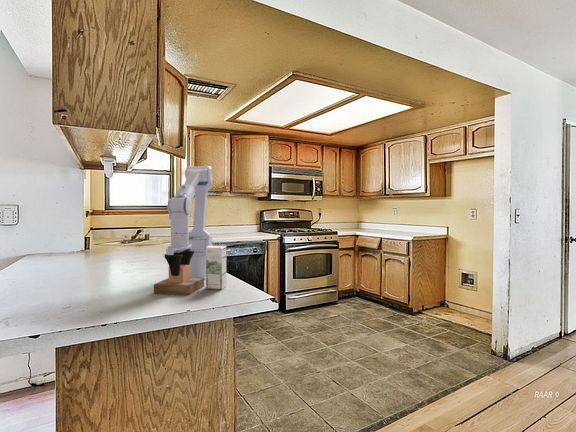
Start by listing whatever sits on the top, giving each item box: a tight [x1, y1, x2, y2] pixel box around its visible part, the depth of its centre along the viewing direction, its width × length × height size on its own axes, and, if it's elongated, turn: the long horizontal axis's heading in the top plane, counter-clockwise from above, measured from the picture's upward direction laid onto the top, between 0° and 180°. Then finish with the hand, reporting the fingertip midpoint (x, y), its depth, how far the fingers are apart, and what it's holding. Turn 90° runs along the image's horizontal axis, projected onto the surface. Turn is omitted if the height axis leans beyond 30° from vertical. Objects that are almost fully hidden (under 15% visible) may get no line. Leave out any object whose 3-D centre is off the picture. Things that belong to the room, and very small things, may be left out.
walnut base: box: [153, 277, 205, 296], centre depth 112 cm, size 12×12×3 cm
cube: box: [168, 265, 190, 283], centre depth 112 cm, size 5×5×5 cm
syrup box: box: [205, 244, 227, 290], centre depth 115 cm, size 6×6×14 cm
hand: (179, 273), depth 112 cm, fingers open, 6 cm apart
